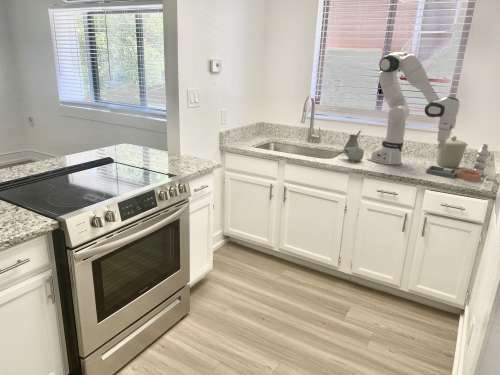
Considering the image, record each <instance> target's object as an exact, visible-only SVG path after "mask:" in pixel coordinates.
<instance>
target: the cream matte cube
mask: <svg viewBox="0 0 500 375" xmlns="http://www.w3.org/2000/svg"><path fill="white" fill-rule="evenodd" d="M443 168H444V169H443V172H444V173H449V174H451V173H452V169H453V168H447V167H443Z"/></svg>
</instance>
